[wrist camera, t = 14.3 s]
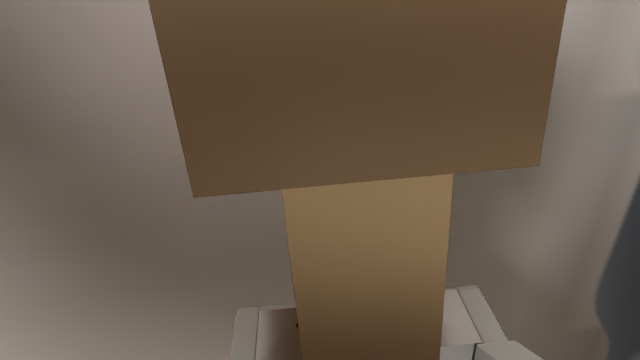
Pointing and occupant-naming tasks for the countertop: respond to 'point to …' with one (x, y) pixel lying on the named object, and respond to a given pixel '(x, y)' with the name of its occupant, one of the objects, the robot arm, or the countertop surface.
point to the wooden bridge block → (359, 139)
